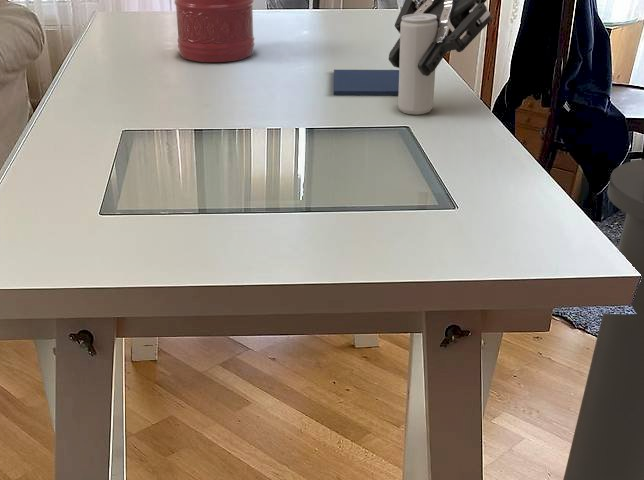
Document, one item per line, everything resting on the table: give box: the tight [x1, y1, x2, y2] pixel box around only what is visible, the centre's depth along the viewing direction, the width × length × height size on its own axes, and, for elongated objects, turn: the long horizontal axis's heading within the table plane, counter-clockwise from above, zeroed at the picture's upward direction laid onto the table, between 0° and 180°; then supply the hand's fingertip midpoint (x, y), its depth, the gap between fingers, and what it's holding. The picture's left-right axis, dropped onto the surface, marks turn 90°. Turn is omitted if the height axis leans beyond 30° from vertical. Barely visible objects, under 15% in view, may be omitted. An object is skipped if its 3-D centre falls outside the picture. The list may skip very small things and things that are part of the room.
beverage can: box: [397, 14, 439, 115], centre depth 112 cm, size 5×5×12 cm
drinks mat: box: [333, 69, 399, 96], centre depth 127 cm, size 12×12×1 cm
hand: (407, 67), depth 112 cm, fingers closed on beverage can, 5 cm apart
